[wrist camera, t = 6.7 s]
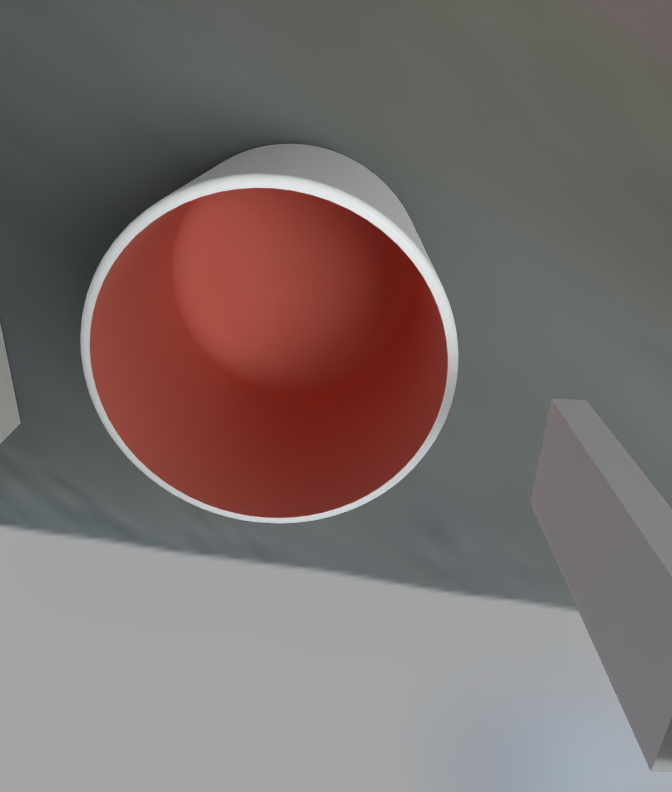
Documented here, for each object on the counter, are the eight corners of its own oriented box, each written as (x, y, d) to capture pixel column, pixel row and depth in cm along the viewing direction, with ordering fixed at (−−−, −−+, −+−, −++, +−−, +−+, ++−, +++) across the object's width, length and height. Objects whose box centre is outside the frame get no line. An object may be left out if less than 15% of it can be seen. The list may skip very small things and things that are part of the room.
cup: (188, 385, 28) (114, 527, 19) (155, 143, 24) (39, 177, 15) (415, 383, 28) (448, 524, 19) (424, 137, 23) (473, 169, 14)
